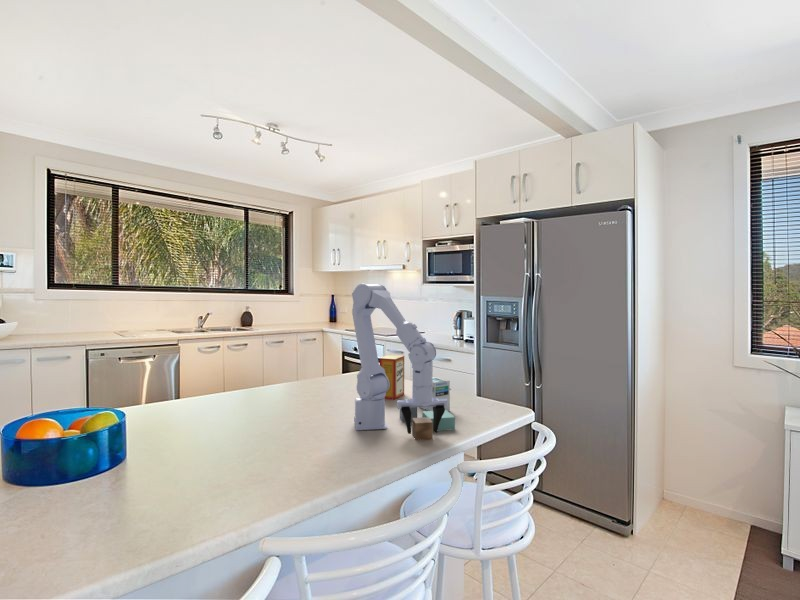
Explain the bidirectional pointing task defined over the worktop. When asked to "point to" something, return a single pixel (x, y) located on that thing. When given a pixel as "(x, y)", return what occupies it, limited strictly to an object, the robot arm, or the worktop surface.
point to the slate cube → (413, 414)
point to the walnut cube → (422, 428)
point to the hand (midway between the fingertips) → (422, 432)
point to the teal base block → (442, 420)
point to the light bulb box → (440, 391)
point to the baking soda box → (394, 375)
